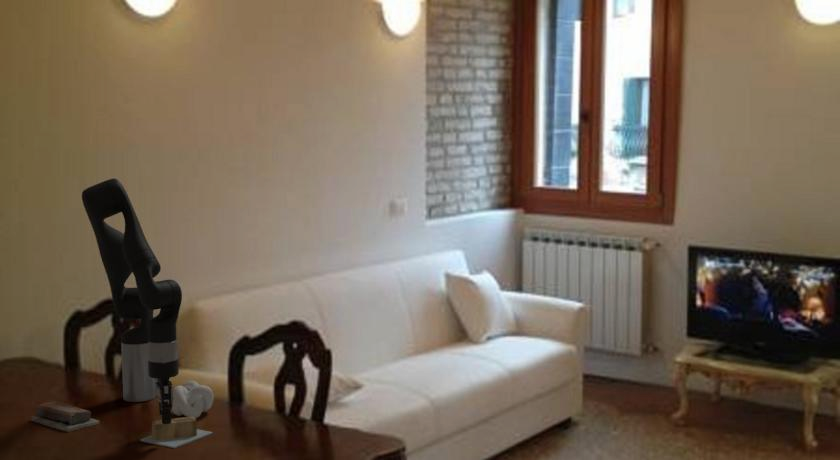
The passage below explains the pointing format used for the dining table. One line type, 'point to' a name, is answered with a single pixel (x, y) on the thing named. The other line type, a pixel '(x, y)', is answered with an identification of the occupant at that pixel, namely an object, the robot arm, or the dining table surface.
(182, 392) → the white decorative knot
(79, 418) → the packaged product
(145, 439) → the felt mat
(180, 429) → the oak block
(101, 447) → the dining table surface
